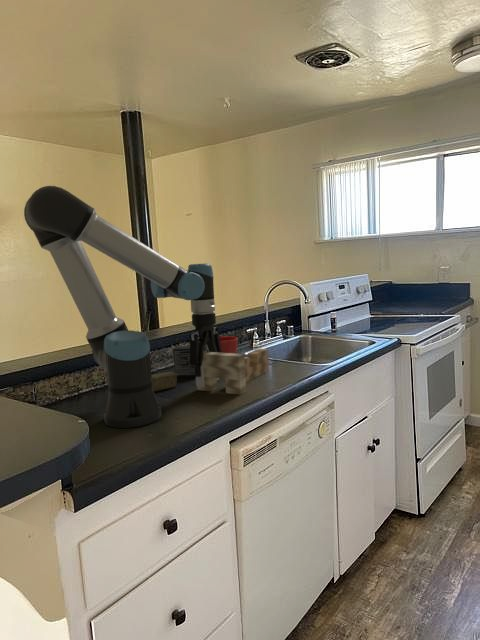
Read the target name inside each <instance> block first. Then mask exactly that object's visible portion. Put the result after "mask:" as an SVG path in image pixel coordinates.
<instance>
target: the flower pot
mask: <svg viewBox="0 0 480 640" xmlns="http://www.w3.org/2000/svg"><path fill="white" fill-rule="evenodd" d="M219 337H220V343H221V350H222V353H235V354H237V352H238V344H239V343H238V340H239V339H238V337H236V336H219Z"/></svg>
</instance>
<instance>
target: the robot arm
mask: <svg viewBox="0 0 480 640" xmlns="http://www.w3.org/2000/svg"><path fill="white" fill-rule="evenodd" d="M23 209H24V211H23V215H24V216H23V217H24V220H25V223H26V225H27V226H28V227H29V230H31V231H32V232H33V234H34V236H35V238H36V240H37V242H38V244H39V246H40V248H41V249H42V250H43V249H44V250H46V251H48V252H49V254H50V255H51V257H52V259H53V261H54V263H55V266H56V268H57V269H58V271H59V273H60V275H61V277H62V280H63V282H64V284H65V285H66V287H67V291H69V293H70V295H71V297H72V299H73V301H74V304H75V305H76V308H77V310H78V311H79V313H80V316H81V318H82V320H83V323H85V326H86V328H87V332H86V335H85V338H86V341H87V342H88V344H89V347H90V349H91V353H92V357H93V359H94V361H95V362H96V364H97V365H98V366H99V367H101V368H103V369H104V370H105V371H106V377H107V388H108V396H107V400H106V407H105V411H104V413H103V417H104V418H103V419H104V423H105V425H106V426H108V427H111V428H117V429H129V428H137V427H142V426H146V425H149V424H152V423H155V422H157V421H158V420H159V419H161V417H162V408H161V405H160V404H159V401H158V399H157V397H156V393H155V392H154V390H153V386H152V375H153V374H152V362H151V344H150V341H149V337H148V335H147V334H146V333H145V332H142V331H140V330H139V331H138V330H137V331H136V330H132V329H131V330H129V329H128V327H127V324H126V323H125V320H124V319H123V318H119V317H117V315H116V313H115V311H114V309H113V307H112V305H111V303H110V300H109V298H108V296H107V294H106V293H105V290H104V287H103V286H102V284H101V282H100V279H99V277H98V275H97V274H96V271H95V269H94V267H93V265H92V263H91V260H90V258H89V256H88V254H87V252H86V250H85V247H84V246H83V243H85V244H87V245H88V246H90V247H91V248H93V249H95V250H98V252H101V253H102V254H104V255H106V256H107V257H109V258H111V259H113V260H114V261H115V262H118V263H120V264H121V265H123V266H124V267H126V268H128V269H130V270H131V271H134V272H135V273H137V274H139V275H140V276H142V277H144V278H146V279H147V280H149V281H150V289H151V293H152V295H153V297H154V298H157V299H161V298H162V299H165V298H175V299H180V300H181V299H182V300H185V301H190V312H191V313H192V315H191V323H192V326H193V327H195V328H194V329H195V330H194V332H193V333H189V336H188V338H189V346H190V366H194V368H195V386H196V387H198V386H200V387H204V386H205V383H204V368H203V366H201V365H202V359H203V353H204V352H205V347H206V346H207V349H208V352H219V353H222V350H221V343H220V337H221V336H220V328H219V327H217V326H214V325H216V323H217V319H216V313H215V312H214V311H216V306H215V291H214V284H215V283H214V278H215V277H214V271H213V266H212V264H210V263H206V262H204V263H192V264H188V266H187V267H188V268H187V269H185V268H183V267H182V266H180V265H178V264H177V263H175V262H174V261H172V260H170V258H169V259H168V258H167V257H165V256H164V255H162V254H160V253H159V252H158V251H156V250H154V249H153V248H151V247H149V246H148V245H146V244H145V243H143V242H141V241H139V240H138V239H136V238H135V237H133V236H132V235H131V234H129V233H127V232H125V231H123V230H122V229H120V228H119V227H117V226H115V225H114V224H112V223H111V222H109V221H107V220H105V218H102V217H101V216H100V215H98V214H97V211H96V209H95V207H92V206H91V205H89V204H87V203H86V202H85V201H83V200H82V199H80V198H79V197H77V196H76V195H74V194H73V193H71V192H70V191H68V190H67V189H65V188H62V187H60V186H56V185H45V186H42V187H40V188H38V189H36V190H35V191H34V192H33V193H31V195H30V197H29V198H28V199H27V201H26V203H25V205H24V207H23ZM82 242H83V243H82ZM198 362H199V363H198ZM219 380H220V378H217V381H219Z"/></svg>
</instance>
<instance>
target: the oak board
mask: <svg viewBox="0 0 480 640" xmlns="http://www.w3.org/2000/svg"><path fill="white" fill-rule="evenodd" d="M268 354H269V352H268V348H257V349H255V350H252V351H249V352H248V353H247V355H248V356H244V360H245V378H246V383H247V382H248V383H249V381H252V380H254V379H256V378H257V377H259V376H261V375H263V374H265V373H266V372H268V371H270V370H269V368H270V367H269V355H268Z"/></svg>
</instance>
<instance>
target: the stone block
mask: <svg viewBox="0 0 480 640" xmlns="http://www.w3.org/2000/svg"><path fill="white" fill-rule="evenodd" d="M177 378H178V377H177V376H176V374H175V372H172V371H165V372H160V373H155V374H154V373H153V374H152V386H153V390H154V393H155V392H159V391H163V390H169V389H172V388H175V387H177V383H178V379H177Z"/></svg>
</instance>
